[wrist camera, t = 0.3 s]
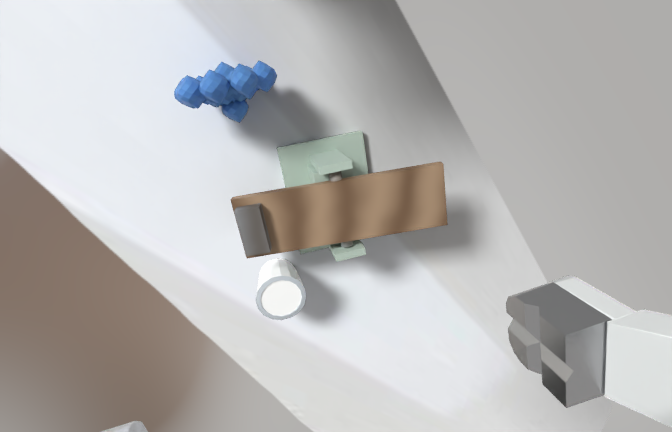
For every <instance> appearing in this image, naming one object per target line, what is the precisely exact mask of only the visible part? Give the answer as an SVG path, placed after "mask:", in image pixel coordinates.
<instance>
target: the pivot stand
mask: <svg viewBox="0 0 672 432" xmlns="http://www.w3.org/2000/svg"><path fill="white" fill-rule="evenodd" d="M277 151H278V155H279V160H280V164H281V169H282V174H283V178H284V183H285V187H286V188H289V187H295V186H300V185H306V184H312V183H318V182H324V181H330V180H329V175H328V174H329V173H334V172H338V171H341V173H342V178H347V177H353V176H359V175H365V174H368V168H367V161H366V154H365V147H364V139H363V132H362V131H356V132H351V133H346V134H342V135H337V136H332V137H327V138H322V139H317V140H312V141H307V142H302V143H297V144H292V145H287V146H282V147H277ZM360 240H361V239H360ZM360 240H354V241H353V245H352V246H350V247H346V248H344V247H342V246H341V243H336V244H330V245H324V246H318V247H312V248H306V249H300V250H299V251H300V254H304V253H308V252H312V251H316V250H320V249H324V248H328V247H329V248H330V250H331V252H332V254H333V256H334V258H335V260H336V262H338V261H342V260H346V259H350V258H354V257H358V256H362V255H366V250H365V247H364V245H363V244H362V243H361V241H360Z"/></svg>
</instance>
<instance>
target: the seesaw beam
mask: <svg viewBox="0 0 672 432" xmlns="http://www.w3.org/2000/svg"><path fill="white" fill-rule="evenodd" d="M328 175H329V180H330V181H324V182H318V183H312V184H306V185H300V186H295V187H289V188H283V189H277V190H271V191H265V192H259V193H254V194H248V195H242V196H236V197H232V199H231V203H232V207H233V210H234V214H235V217H236V221H237V225H238V228H239V232H240V236H241V239H242V243H243V246H244V250H245V254H246V257H247V258H252V257H258V256H264V255H270V254H276V253H282V252H288V251H294V250H300V249H306V248H312V247H318V246H324V245H330V244H336V243H341V246H342V247H344V248H346V247H350V246H352V245H353V241H354V240H360V239H366V238H372V237H377V236H383V235H389V234H395V233H401V232H407V231H413V230H419V229H425V228H431V227H437V226H443V225H447V211H446V196H445V182H444V167H443V163H442V162H435V163H429V164H423V165H417V166H412V167H406V168H400V169H394V170H388V171H382V172H376V173H371V174H365V175H359V176H353V177H347V178H342V173H341V171H338V172H334V173H329V174H328Z"/></svg>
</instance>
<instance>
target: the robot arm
mask: <svg viewBox="0 0 672 432" xmlns="http://www.w3.org/2000/svg"><path fill="white" fill-rule="evenodd" d="M506 309H507V313H508V314H509V315H510V316H511V317H512V318H513V320H512V322H511V324H510V326H509V328H508V333H509V341H510V343H511V346H512V348H513V351H514V353H515V354H516V356H517V357H518V359H519V360H520V362H521V363H522V364H523V365H524V366H525V367H526V368H527V369H528V370H531V371H534V372H536V373H539V374H542V383H543V385H544V386H545V387H546V388H547V389H548V390H549V391H550V392H551V393H552V394H553V395H554V396H555V397H556V398H557V399H558V400H559V401H560V402H561V403H562V404H563V405H564V406H565V407H566V408H568V407H570V406H573V405H576V404H579V403H582V402H585V401H588V400H591V399H594V398H597V397H600V396H603V395H605V398H608V399H610V400H612V401H614V402H616V403H619V404H621V405H623V406H626V407H627V408H630V409H632V410H634V411H636V412H639V413H641V414H643V415H645V416H647V417H650V418H652V419H654V420H656V421H659V422H660V423H663V424H665V425H667V426H669V427H672V315H669V314H664V313H659V312H654V311H649V310H644V309H643V310H640V311H637V312H636V311H635V310H633V309H631V308H629V307H627V306H626V305H624V304H622V303H621V302H619V301H617V300H615V299H614V298H612V297H610V296H608V295H606V294H605V293H603V292H601V291H600V290H598V289H596V288H594V287H593V286H591V285H589V284H587V283H585V282H584V281H582V280H580V279H578V278H577V277H574V276H565V277H562V278H559V279H557V280H554V281H551V282H549V283H548V284H544V285H541V286H538V287H535V288H533V289H530V290H527V291H524V292H521V293H518V294H515V295H512V296H509V297H508V299H507V302H506ZM101 432H147V430H146V429H145V427H144V425H143V423H142V422H139V421H134V422H130V423H127V424H124V425H121V426H117V427H114V428H111V429H107V430H104V431H101Z"/></svg>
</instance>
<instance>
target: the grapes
mask: <svg viewBox="0 0 672 432" xmlns="http://www.w3.org/2000/svg"><path fill="white" fill-rule="evenodd" d="M276 78H277V74H276V72H275V70H274V69H273V68H271V67H270V66H268V65H267V64H265V63H263V62H261V61H258V62H257V64H256V65H255V66H254V68H253V69H252V68H250V67H248V66H244V65H241V64H238V66H237V67H236V68H235V69H234V68H233V67H231V66H229V65H228V64H225V63H223V62H221V63H220V64H219V65H218V67H217V68H216V70H215V71H212V70H209V71H208V72H207V73H206V74H205V76H204V77H201V76H198V77H197V78H196V79H195V78H192V77H190V76H188V75H187V76H186V77H185V78H183V79H182V80H181V81H180V83H179V84H178V86H177V87H176V89H175V91H174V95H175V99H177V100H178V101H179V102H180V103H182V104H184V105H186V106H188V107H191V108H199V107H200V105H201V104H202V103H205V104H207V105H208V104H210V105H212V106H214V107H216V106H217V107H219V105H221V106H222V112H223V114H224V115H225V116H226V117H228V118H229V119H232V120H234V121H237V122H239V123H240V122H241V120H242V119H243V118H244V116H245V115H246V113H247V111H248V107H249V106H248V104H247V102H246V101H245V100H246V99H247V98H248V99H251V98H252V97H253V95H254V94H255V92H256V91H257V90H259V89H261V90H263V91H266V92H268V91H269V90H270V88H271V87H272V86H273V84H274V83H275V80H276Z"/></svg>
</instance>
